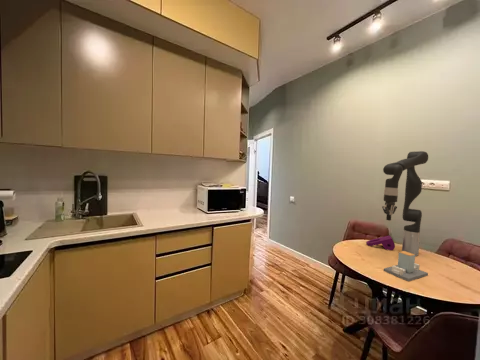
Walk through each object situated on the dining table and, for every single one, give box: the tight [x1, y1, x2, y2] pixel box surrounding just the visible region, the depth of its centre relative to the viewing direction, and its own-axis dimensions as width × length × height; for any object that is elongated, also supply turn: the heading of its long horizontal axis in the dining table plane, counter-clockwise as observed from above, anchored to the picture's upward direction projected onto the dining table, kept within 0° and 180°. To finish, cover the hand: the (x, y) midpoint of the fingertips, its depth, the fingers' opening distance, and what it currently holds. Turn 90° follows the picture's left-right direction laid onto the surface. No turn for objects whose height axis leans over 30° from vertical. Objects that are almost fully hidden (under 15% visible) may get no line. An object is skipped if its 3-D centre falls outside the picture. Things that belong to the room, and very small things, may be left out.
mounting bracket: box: [366, 234, 396, 251], centre depth 172 cm, size 9×8×18 cm
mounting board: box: [383, 263, 429, 282], centre depth 126 cm, size 20×13×5 cm, turn 116°
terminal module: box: [397, 250, 416, 273], centre depth 126 cm, size 5×6×10 cm
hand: (388, 220), depth 144 cm, fingers closed
